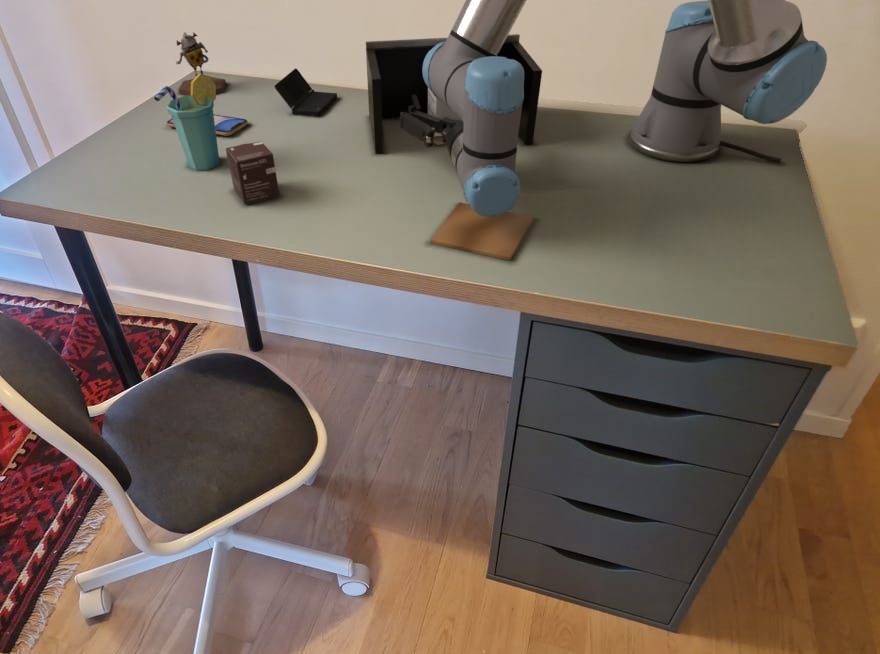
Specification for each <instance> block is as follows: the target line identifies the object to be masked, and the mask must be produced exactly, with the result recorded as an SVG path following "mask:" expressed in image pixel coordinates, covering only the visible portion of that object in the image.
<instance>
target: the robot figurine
mask: <svg viewBox="0 0 880 654" xmlns="http://www.w3.org/2000/svg"><path fill="white" fill-rule="evenodd" d="M181 37H182V38H181V40H180V41H179V40H178V39H177V40H176V46H177V47H178V46H180V45H181V46H180V47H181V48H180V50H181V52H179V56H180V57H179V60H177V61H176V62H175V64H176V65H180V64H181V63H182V61H183V58H184V59H185V60H186V62H187V64H188V65H189V66H190V67H191V68H192V69H193V71H194V73H195V74H194V76H195V77H196V76H197V75H198V73H197V70H198V67H199V68H200V69H199V70H200V72H199V74H201V75H204V71H203V70H202V68H203V65H204V64H206V63H208V61H209V59H210V58H209V57H208V56H207V55H206V54H208V52H209V50H208V49H207V48H206V47H205V45H204V44H203V43H202V42H201V41H199V42H197V39H196V37H198V35H197V34H196V33H195V32H194V31H193V32H192V35H190V34H187V32H186V31H182V32H181ZM203 51H204V52H205V53H206V54H204V53H203ZM211 78H212V80H213V81H214V83H215V84H216V95H217V94H221V93H223V91H224V89H225V87H226V85H227V81H226V79H224V78H220V77H213V76H211ZM193 79H194V78H191V79H190V78H189V79H187V80H183V81H182V83H181V85H180V86H179V88H178V93H179V95H183V96H191V82H192V81H193Z"/></svg>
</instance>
